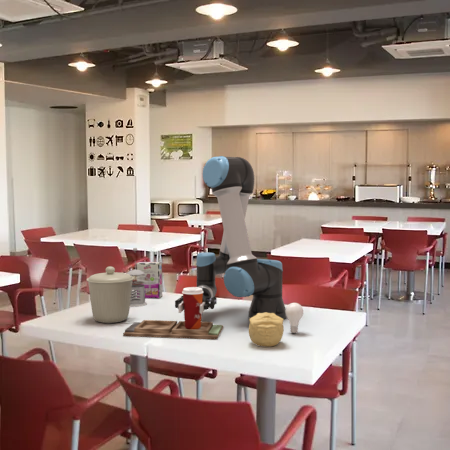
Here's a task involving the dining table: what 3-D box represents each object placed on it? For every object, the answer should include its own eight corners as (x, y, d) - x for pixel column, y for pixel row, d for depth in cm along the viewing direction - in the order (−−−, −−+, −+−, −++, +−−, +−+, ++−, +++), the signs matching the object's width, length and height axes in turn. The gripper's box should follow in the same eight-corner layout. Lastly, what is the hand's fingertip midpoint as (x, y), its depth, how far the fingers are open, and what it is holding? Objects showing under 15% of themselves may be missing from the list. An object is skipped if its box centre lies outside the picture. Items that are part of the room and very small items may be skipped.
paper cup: (203, 330, 207) (203, 290, 206) (181, 330, 207) (180, 290, 206) (204, 324, 215) (204, 286, 214) (183, 324, 215) (183, 286, 214)
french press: (128, 301, 265) (127, 246, 264) (153, 302, 264) (152, 246, 262) (121, 306, 256) (120, 248, 254) (147, 307, 254) (146, 249, 252)
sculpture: (249, 349, 190) (249, 316, 190) (247, 339, 202) (247, 308, 202) (285, 349, 190) (285, 316, 190) (281, 339, 202) (281, 308, 202)
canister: (111, 312, 243) (110, 262, 241) (144, 318, 233) (143, 265, 231) (77, 321, 228) (76, 267, 227) (110, 328, 218) (109, 271, 216)
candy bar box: (162, 296, 277) (162, 261, 276) (159, 298, 272) (159, 263, 271) (139, 295, 279) (139, 261, 278) (136, 298, 274) (135, 262, 273)
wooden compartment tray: (223, 327, 218) (223, 321, 218) (216, 339, 202) (216, 332, 202) (136, 325, 222) (136, 318, 222) (123, 336, 207) (123, 329, 206)
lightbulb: (298, 336, 206) (298, 305, 205) (282, 334, 209) (282, 303, 208) (306, 332, 211) (306, 302, 210) (289, 330, 214) (290, 300, 213)
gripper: (227, 306, 227) (218, 320, 205) (176, 305, 230) (162, 319, 207) (227, 287, 227) (218, 299, 204) (176, 286, 229) (162, 297, 207)
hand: (190, 309), depth 206 cm, fingers open, 7 cm apart
